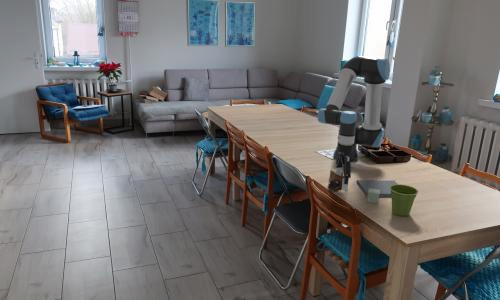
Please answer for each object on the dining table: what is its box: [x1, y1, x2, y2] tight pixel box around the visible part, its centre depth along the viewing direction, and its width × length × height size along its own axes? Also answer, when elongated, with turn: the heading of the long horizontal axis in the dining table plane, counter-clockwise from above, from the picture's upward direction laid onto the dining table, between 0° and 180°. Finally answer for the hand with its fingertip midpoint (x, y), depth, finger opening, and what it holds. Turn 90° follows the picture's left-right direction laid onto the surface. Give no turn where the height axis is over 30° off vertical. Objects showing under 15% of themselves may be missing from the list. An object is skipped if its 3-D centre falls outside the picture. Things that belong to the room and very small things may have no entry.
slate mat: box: [356, 179, 398, 198], centre depth 204 cm, size 18×20×2 cm
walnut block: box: [329, 168, 344, 180], centre depth 215 cm, size 5×5×5 cm
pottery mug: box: [327, 174, 343, 192], centre depth 201 cm, size 12×10×8 cm
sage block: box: [366, 188, 380, 204], centre depth 189 cm, size 5×5×5 cm
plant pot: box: [390, 183, 420, 217], centre depth 176 cm, size 12×12×11 cm
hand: (341, 184), depth 201 cm, fingers open, 12 cm apart
